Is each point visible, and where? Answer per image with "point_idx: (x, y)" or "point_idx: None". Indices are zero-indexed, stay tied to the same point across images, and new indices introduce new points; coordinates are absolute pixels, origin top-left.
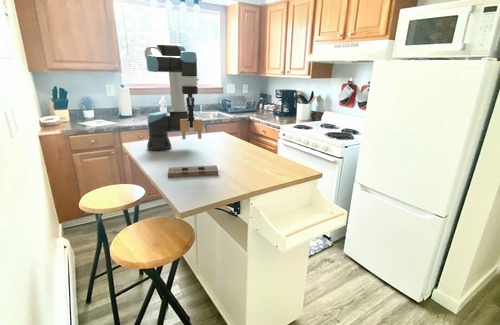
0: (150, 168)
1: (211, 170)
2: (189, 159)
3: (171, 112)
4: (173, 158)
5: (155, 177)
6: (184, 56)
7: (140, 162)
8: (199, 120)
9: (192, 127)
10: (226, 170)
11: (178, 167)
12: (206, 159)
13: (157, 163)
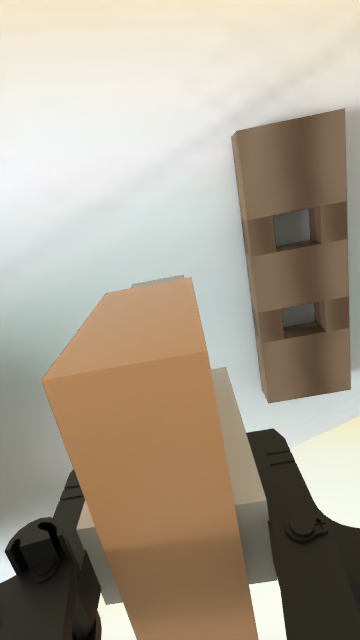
0: None
1: (338, 158)
2: (42, 334)
3: None
4: (41, 417)
5: (320, 425)
6: None
7: None
8: (216, 405)
9: (275, 435)
10: (235, 63)
11: (271, 358)
12: (21, 232)
13: None
